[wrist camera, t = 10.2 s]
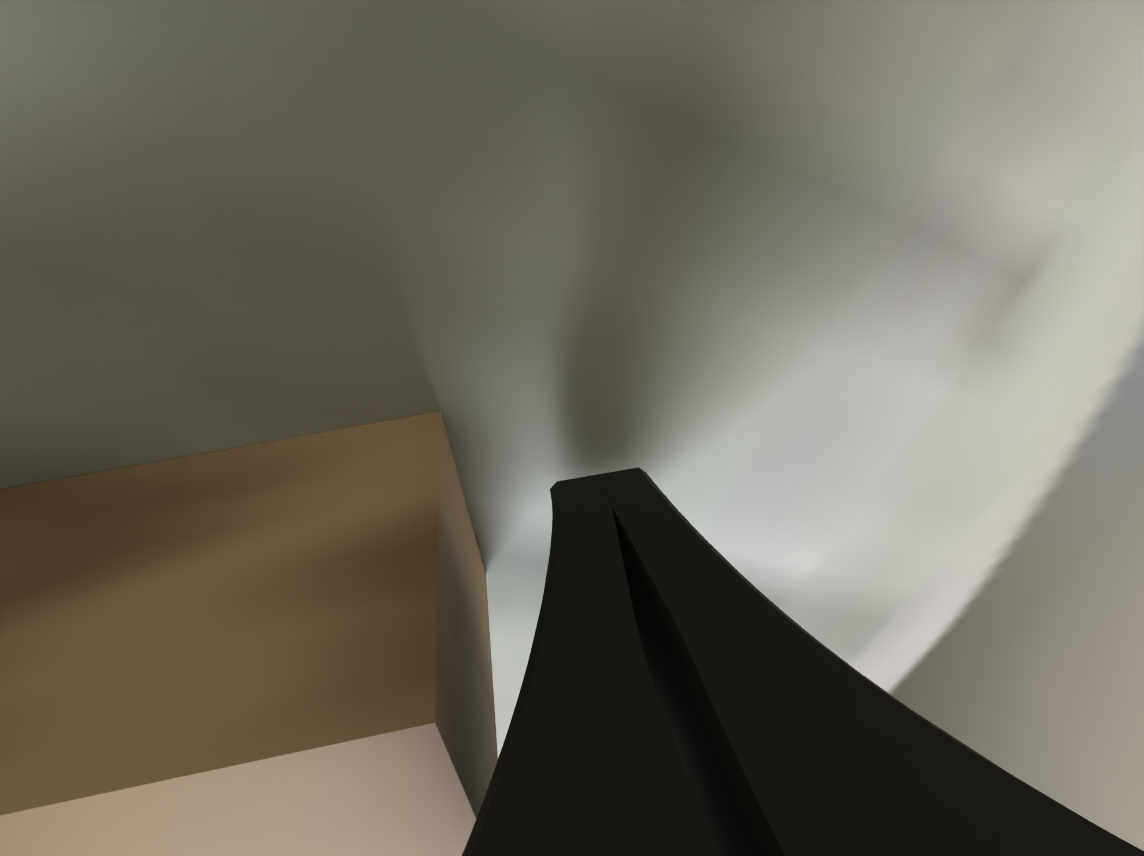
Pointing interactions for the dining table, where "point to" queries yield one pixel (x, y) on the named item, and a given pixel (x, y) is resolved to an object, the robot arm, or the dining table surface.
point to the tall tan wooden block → (247, 653)
